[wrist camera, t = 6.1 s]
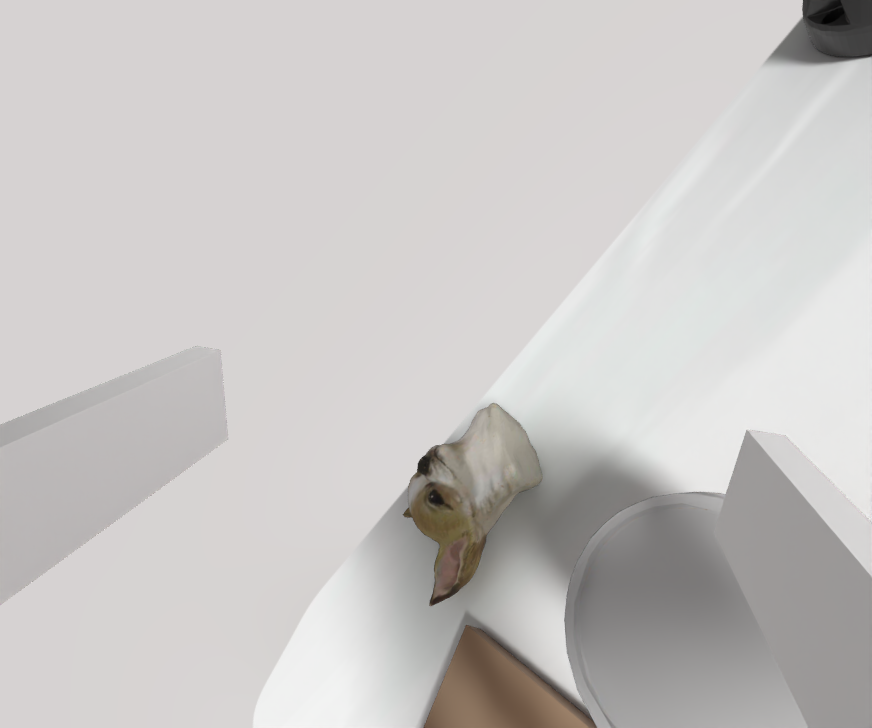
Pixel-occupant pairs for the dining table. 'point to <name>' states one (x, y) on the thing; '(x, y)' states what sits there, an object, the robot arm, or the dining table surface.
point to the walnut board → (497, 692)
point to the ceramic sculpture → (470, 492)
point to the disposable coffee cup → (669, 626)
